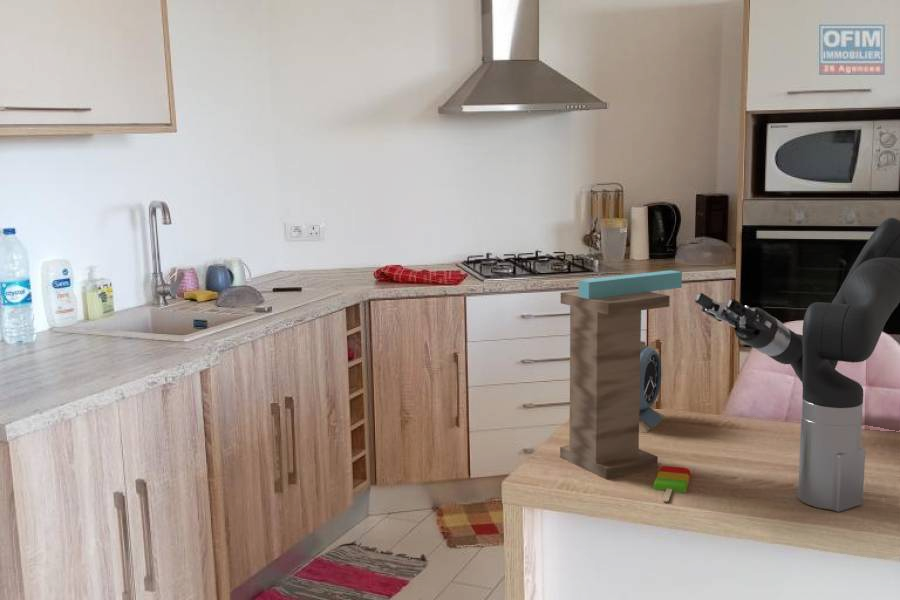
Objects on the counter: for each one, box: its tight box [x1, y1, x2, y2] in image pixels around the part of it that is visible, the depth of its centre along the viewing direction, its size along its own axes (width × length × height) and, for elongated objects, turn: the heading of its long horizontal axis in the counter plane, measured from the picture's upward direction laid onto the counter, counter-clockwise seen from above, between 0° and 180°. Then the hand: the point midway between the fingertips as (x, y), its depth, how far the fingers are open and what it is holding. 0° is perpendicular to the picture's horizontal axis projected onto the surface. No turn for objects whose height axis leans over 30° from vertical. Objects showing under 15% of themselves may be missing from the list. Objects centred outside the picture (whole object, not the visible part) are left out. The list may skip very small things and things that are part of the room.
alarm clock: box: [639, 340, 667, 433], centre depth 199 cm, size 14×10×18 cm
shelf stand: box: [559, 290, 670, 480], centre depth 174 cm, size 14×14×32 cm
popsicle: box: [653, 465, 692, 503], centre depth 163 cm, size 6×15×2 cm, turn 160°
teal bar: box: [578, 269, 683, 299], centre depth 173 cm, size 3×22×3 cm, turn 119°
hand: (713, 300), depth 184 cm, fingers open, 8 cm apart
